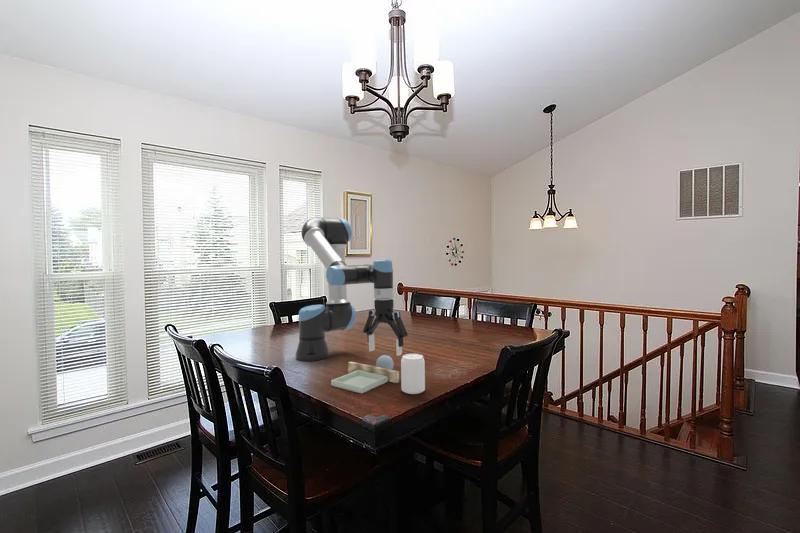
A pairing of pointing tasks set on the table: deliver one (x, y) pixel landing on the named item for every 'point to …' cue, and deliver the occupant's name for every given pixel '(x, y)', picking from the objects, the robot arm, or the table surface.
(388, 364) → the ball
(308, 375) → the table surface
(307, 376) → the table surface
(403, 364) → the beverage can
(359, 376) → the tray
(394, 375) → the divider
